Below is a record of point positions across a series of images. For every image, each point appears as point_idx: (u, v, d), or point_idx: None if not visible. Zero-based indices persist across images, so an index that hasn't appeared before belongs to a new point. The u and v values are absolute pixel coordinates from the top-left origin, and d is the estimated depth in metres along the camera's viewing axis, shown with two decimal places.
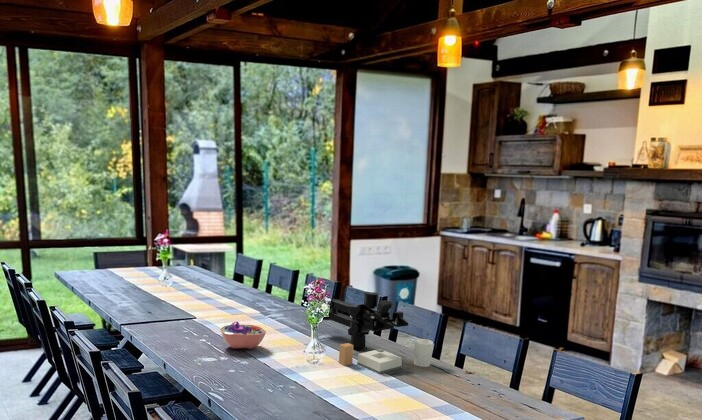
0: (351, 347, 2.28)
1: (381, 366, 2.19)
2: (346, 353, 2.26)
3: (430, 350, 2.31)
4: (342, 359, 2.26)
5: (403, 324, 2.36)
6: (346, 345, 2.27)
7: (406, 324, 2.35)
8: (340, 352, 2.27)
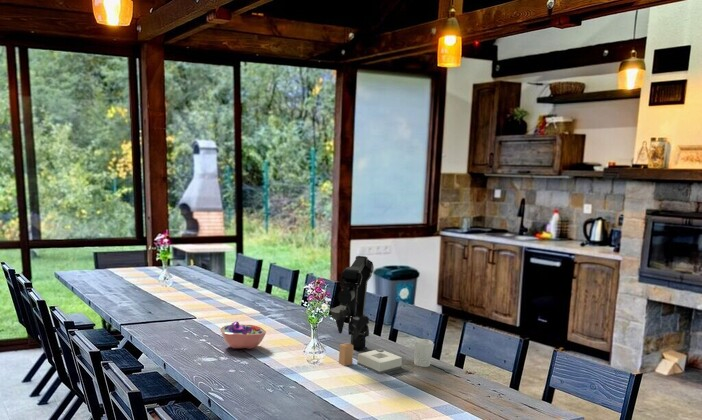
0: (351, 347, 2.28)
1: (381, 366, 2.19)
2: (346, 353, 2.26)
3: (430, 350, 2.31)
4: (342, 359, 2.26)
5: None
6: (346, 345, 2.27)
7: None
8: (340, 352, 2.27)
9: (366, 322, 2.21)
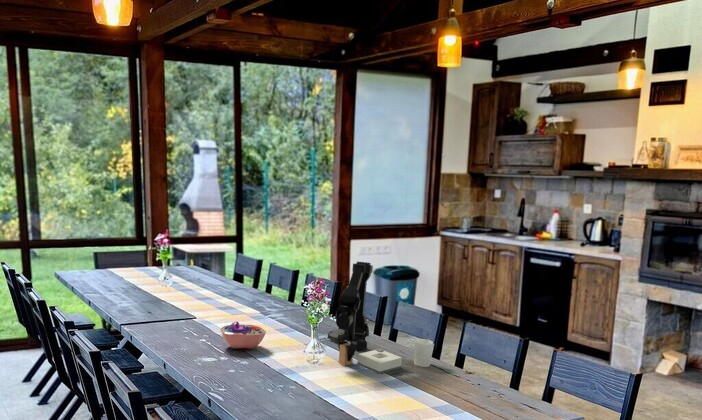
0: None
1: (381, 366, 2.19)
2: (346, 353, 2.26)
3: (430, 350, 2.31)
4: (342, 359, 2.26)
5: None
6: (346, 345, 2.27)
7: None
8: (340, 352, 2.27)
9: (364, 346, 2.22)
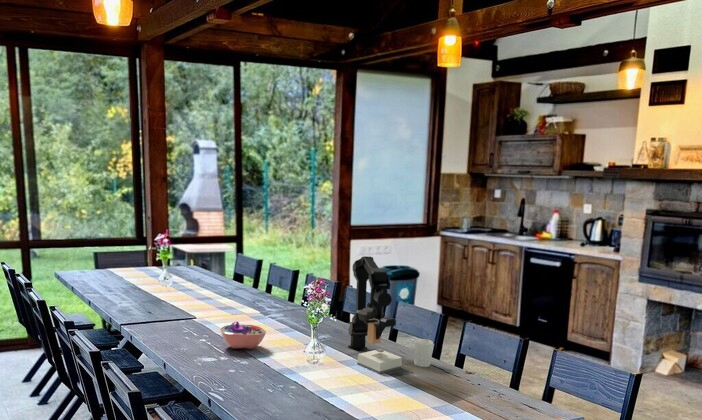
0: None
1: (381, 366, 2.19)
2: (374, 331, 2.25)
3: (430, 350, 2.31)
4: (371, 337, 2.25)
5: None
6: (374, 323, 2.26)
7: None
8: (368, 330, 2.26)
9: (393, 324, 2.20)
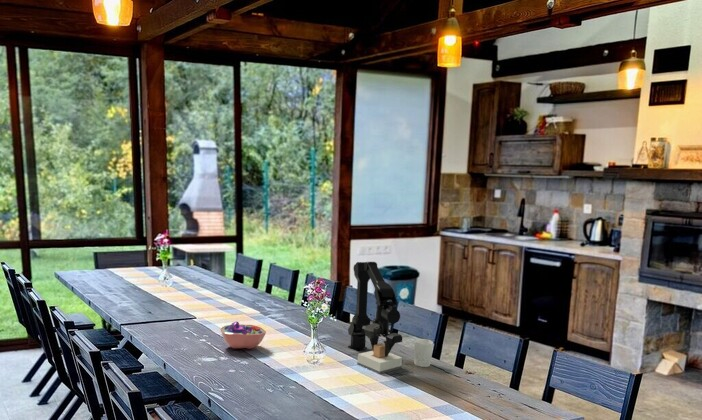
0: None
1: (381, 366, 2.19)
2: (380, 353, 2.25)
3: (430, 350, 2.31)
4: None
5: None
6: (380, 345, 2.26)
7: None
8: (374, 352, 2.27)
9: (400, 341, 2.21)
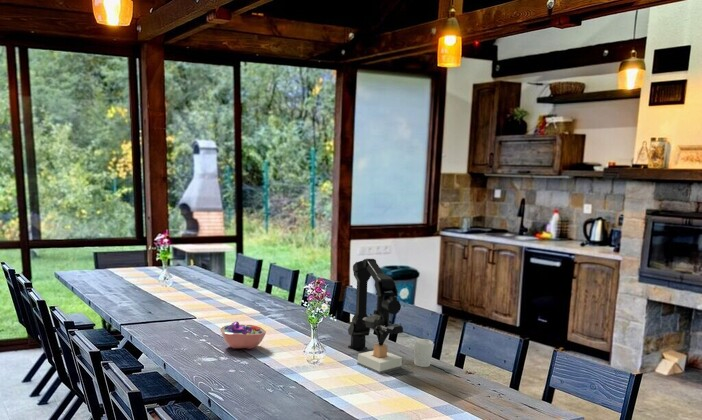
0: (385, 347, 2.27)
1: (381, 366, 2.19)
2: (380, 353, 2.25)
3: (430, 350, 2.31)
4: None
5: None
6: (380, 345, 2.26)
7: None
8: (374, 352, 2.27)
9: (400, 331, 2.21)
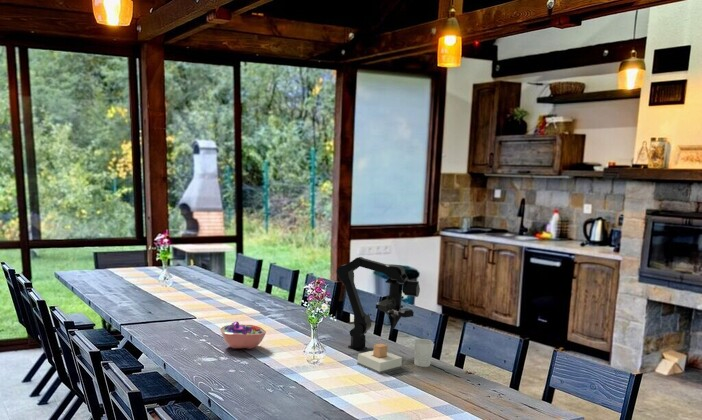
0: (385, 347, 2.27)
1: (381, 366, 2.19)
2: (380, 353, 2.25)
3: (430, 350, 2.31)
4: None
5: None
6: (380, 345, 2.26)
7: None
8: (374, 352, 2.27)
9: (411, 315, 2.37)
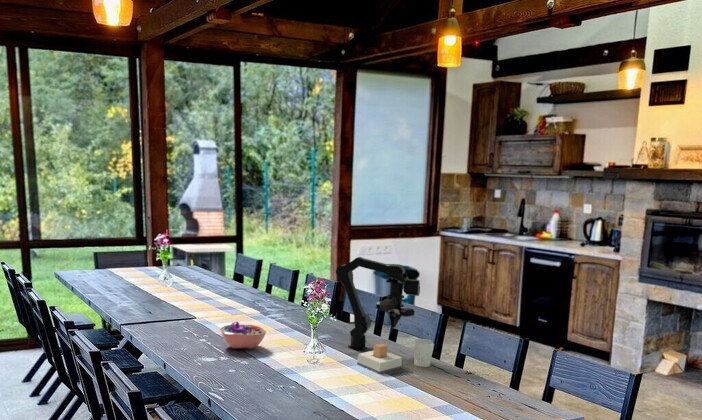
0: (385, 347, 2.27)
1: (381, 366, 2.19)
2: (380, 353, 2.25)
3: (430, 350, 2.31)
4: None
5: None
6: (380, 345, 2.26)
7: None
8: (374, 352, 2.27)
9: (412, 314, 2.39)
